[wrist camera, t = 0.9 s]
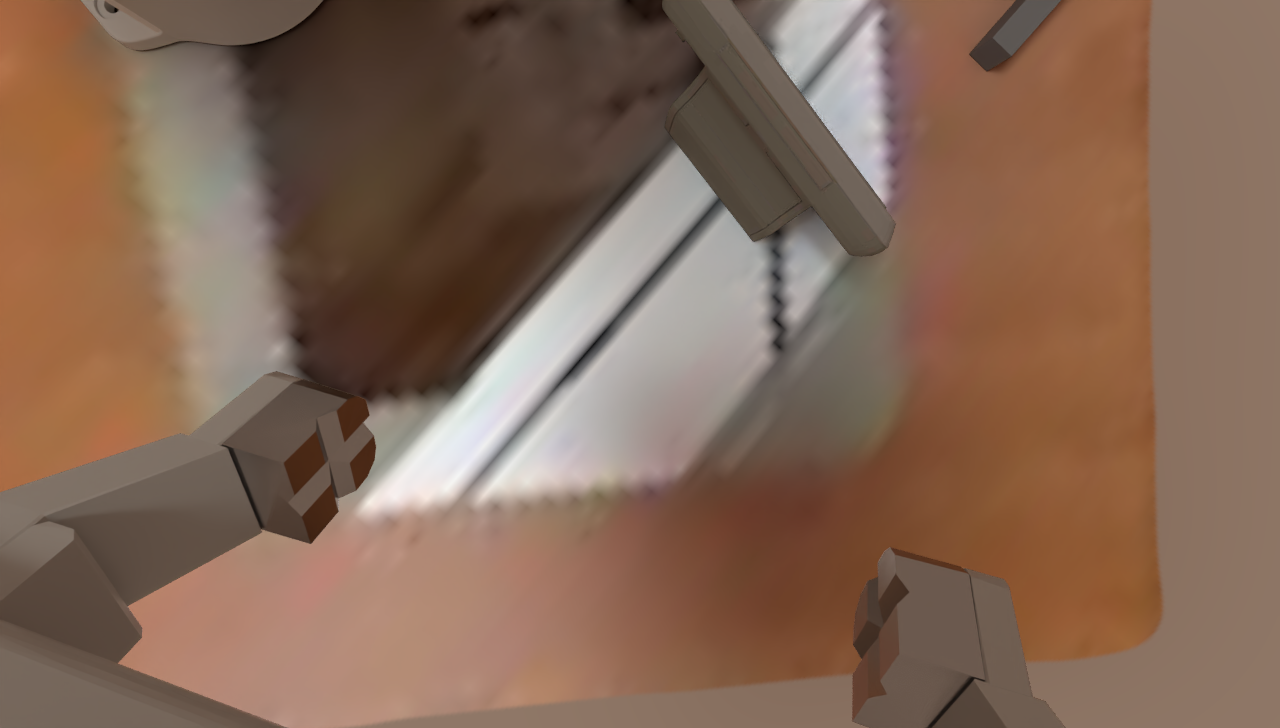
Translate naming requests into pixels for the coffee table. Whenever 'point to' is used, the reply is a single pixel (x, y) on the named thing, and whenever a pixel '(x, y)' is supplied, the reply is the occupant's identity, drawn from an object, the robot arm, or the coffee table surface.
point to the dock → (1011, 31)
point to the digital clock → (765, 136)
